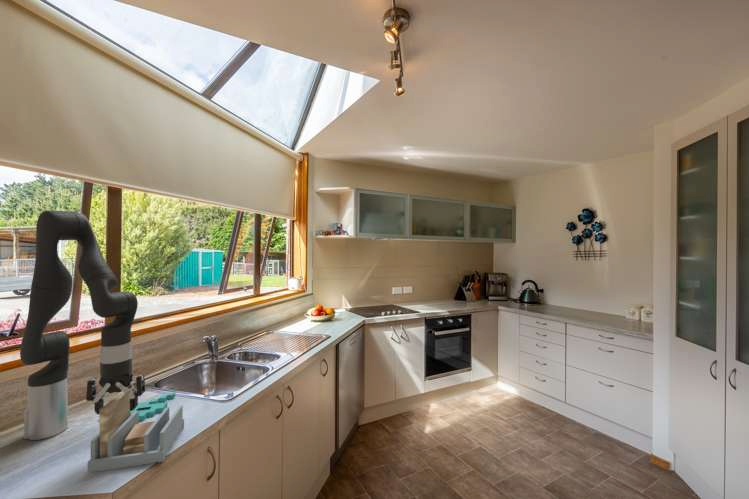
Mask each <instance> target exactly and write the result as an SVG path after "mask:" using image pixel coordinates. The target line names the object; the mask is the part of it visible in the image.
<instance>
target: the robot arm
mask: <svg viewBox="0 0 749 499" xmlns="http://www.w3.org/2000/svg"><path fill="white" fill-rule="evenodd" d="M35 229H36V230H35V231H36V233H35V243H36V244H35V245H36V246H35V262H34V268H33V275H32V280H31V287H30V294H29V305H28V312H27V319H26V323H25V327H24V331H23V335H22V339H21V343H20V348H19V349H20V350H19V356H20V360H21V362H22V363H23V364H24V365H26V366H32V365H37V364H38V365H39V364H42V363H46V362H48V363H47V364H46V365H44V366H43V367H42V368H40V369H39V370H36V371H35V372H33V373H32V374H30V375H29V376H28V378H27V408H25V409H24V411H23V439H24V440H31V441H39V440H44V439H48V438H52V437H54V436H57V435H59V434H61V433H63V432H64V431H66V430H67V428H68V423H69V420H68V418H69V417H68V413H69V412H68V411H69V410H68V408H69V407H68V404H69V403H68V400H69V399H68V398H69V397H68V371H69V367H70V366H69V362H70V361H69V360H70V359H69V358H70V350H71V348H70V347H71V346H70V345H71V344H70V337H69V335H68V333H66V331H63V330H58V331H51V332H46V333H44V331H45V329H46V328H47V325H48V323H50V321H51V320H52V319H53V318H54V317H55V316H56V315H58V313H59V312H60V311H61V310H62V309H63V308H64V307H65V306H66V304H68V302H69V300H70V299H71V296H72V290H73V289H72V288H73V276H72V274H71V272H70V270H68V268H67V266H65V264H64V263H63V262H62V260H61V259H60V256H59V252H58V243H59V242H60V241H76V242H77V243H78V245H79V246H80V249H81V254H80V257H79V260H78V264H77V266H78V267H77V269H78V273H79V276H80V277H81V279H82V280H83V282H84V283H85V285H86V286H87V288H88V291H89V295H90V301H91V306H92V310H93V312H94V314H95V315H97V316H98V317H100V318H102V319H103V318H104V319H108V318H113V317H114V320H113V321H112V322H110V323H108V324H106V325H104V326H103V327H102V328H101V330H100V335H101V336H100V345H101V346H100V352H99V366H100V368H99V374H100V378H97V377H93V378H91V379H90V380H88V381H87V384H86V398H85V400H86V402H90V401H91V402H93V403H94V413H96V415H99V410H100V409H101V408H102V407H104V406H105V405H104V399H103V398H104V397H105V396H106V394H107V393H108V394H113V393H120V392H122V391H123V392H124V393H125V394H127V395H128V396H129V397H130V398H131V399H130V411H133V410H134V409H135V408H136V407H137V405H138V403H139V397H140V396H143V394H144V393H145V392H146V381H145V374H144V373H141V374H139V375H133V346H132V325H133V323H134V319H135V317H136V315H137V310H138V298H137V295H135V293H133V292H132V291H127V290H126V291H125V290H124V291H119V292H118V291H117V292H110V291H111V290H113V289H115V288H116V287H117V286H118V278H117V277H116V276H115V274H114V272H113V270H112V269H111V268H110V266H109V264H108V262H107V261H106V259H105V257H104V256H103V253H102V251H101V248H100V245H99V242H98V240H97V237H96V235H95V232H94V229H93V227H92V225H91V222H90V221H89V218H88V217H87V216H86V215H85V214H83V212H77V211H69V210H68V211H67V210H49V209H48V210H44V211H42V212H40V214H39V216H38V217H37V221H36V228H35ZM132 382H134V383H135V384H136V387H135V385H134V384H133V383H132ZM99 385H100V386H101V388H102V389H100V391H99V392H98V394H97V387H98V386H99Z"/></svg>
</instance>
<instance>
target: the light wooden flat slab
mask: <svg viewBox="0 0 749 499" xmlns="http://www.w3.org/2000/svg"><path fill="white" fill-rule="evenodd" d="M130 399H131V398H130V397H129V396H128V395H127V394H125V393H124V392H123V391H122V392H118V394H117V395H116V396H114V397H113V398H112V399H111V400H109V401H108V402H107V403H106V404H105V405H104V407H102V408H101V409H100V410H99V414H98V416H99V418H98V419H100V420H99V433H100V458H106V457H108V438H109V437H110V436H111V435H112V434H113V433H114V432H115V431H116V430H117V429H118V428H119V427H120V426H121V425H122V424H123V423H124V422H125V421H126V420H127V419H128V418H129V417H130V416H131V411H130Z"/></svg>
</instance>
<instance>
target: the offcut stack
mask: <svg viewBox="0 0 749 499" xmlns="http://www.w3.org/2000/svg"><path fill="white" fill-rule="evenodd" d="M154 422H155V420H153V421H146V422H139V424H135V425H134V427H133V428H132V430H131V431H130V433H129V434H128V436H127V437H126V439H125V447H124V448H123V454H122V455H127V454H134V453H141V452H144V434H145V433H146V432H147V430H148V429H149V428H150V427H151V425H152V424H153V423H154Z"/></svg>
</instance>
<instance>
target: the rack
mask: <svg viewBox="0 0 749 499" xmlns="http://www.w3.org/2000/svg"><path fill="white" fill-rule="evenodd" d="M183 408H184V407H183V405H179V406H178V407H177V408H176V410H175V411H174V412H173V414H172V415H171V417H170V406H167V407H166V408H165V409H164V411H163V412H162V413H159V416H158V417H157V418H156V419H155V420H154V421H155V422H154V423H153V424H152V425H151V427H150V428H149V429H148V430H147V432H146V433H145V434H144V452H141V453H134V454H127V455H123V448H124V447H125V439H126V437H127V436H128V434H129V433H130V431H131V430H132V428H133V427H134V425H135V424H140V421H139V411H135V412H134V413H133V414H132V415H131V416H130V417H129V418H128V419H127V420H126V421H125V422H124V423H123V424H122V425H121V426H120V427H119V428H118V429H117V430H116V431H115V432H114V433H113V434H112V435H111V436H110V437H109V438H108V457H106V458H100V432H99V433H98V434H97V435H95V437H94V438H93V439H92V440H91V441H90V459H89V460H88V461H87V473H88V474H90V473H96V472H97V473H98V472H102V471H103V472H104V471H110V470H117V469H124V468H131V467H136V465H138V466H142V464H145V465H150V463H151V464H155V463H154V462H158V463H163V462H164V461H165V458H166V457H167V455H168V454H167V452H168V451H169V452H170V450H171V449H170V447H171V446H172V447H173V445H174V444H175V442H176V441H175V440H177V439H176V438H178V437H179V436H180V434H181V433H182V431H183V430H184V428H185V418H184V416H183V413H184V412H183V410H184V409H183ZM178 435H179V436H178ZM177 436H178V437H177ZM174 441H175V442H174ZM173 443H174V444H173ZM172 444H173V445H172ZM172 447H171V448H172ZM158 448H159V449H158ZM169 449H170V450H169ZM169 452H168V453H169ZM166 454H167V455H166ZM165 456H166V457H165ZM130 466H131V467H130Z"/></svg>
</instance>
